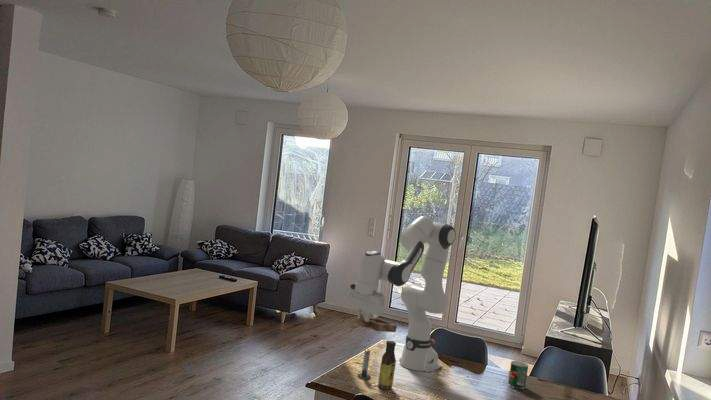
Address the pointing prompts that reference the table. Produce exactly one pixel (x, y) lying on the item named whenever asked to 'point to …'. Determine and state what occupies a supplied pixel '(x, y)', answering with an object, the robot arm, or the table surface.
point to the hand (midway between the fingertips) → (363, 320)
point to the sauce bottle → (387, 367)
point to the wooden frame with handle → (377, 324)
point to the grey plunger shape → (365, 366)
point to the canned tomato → (518, 374)
